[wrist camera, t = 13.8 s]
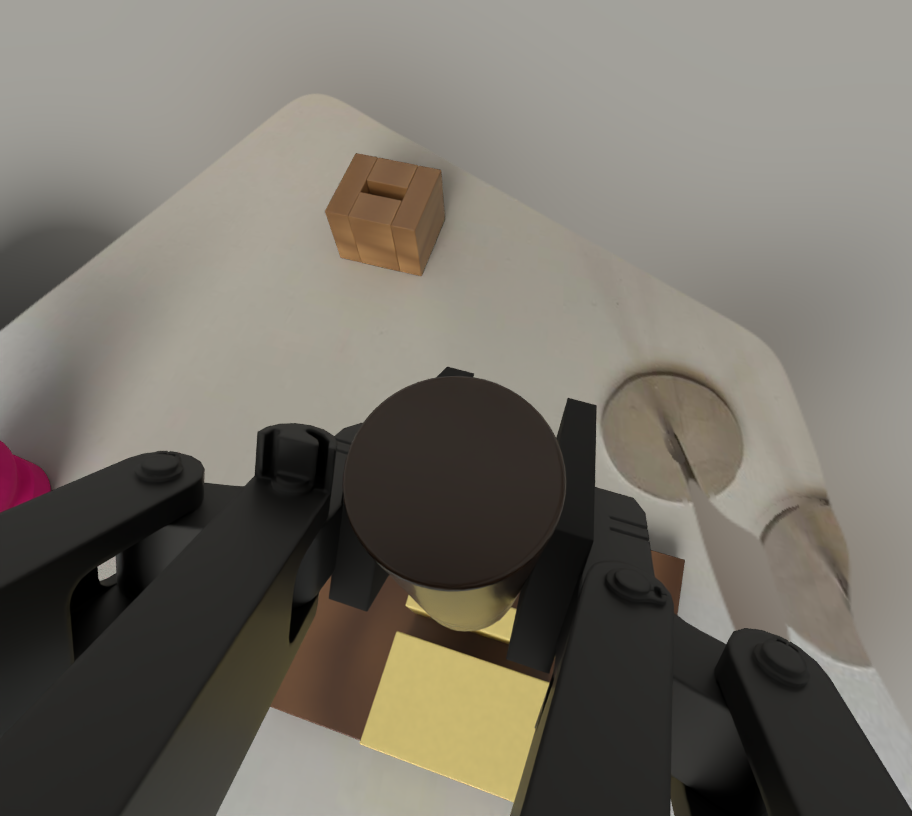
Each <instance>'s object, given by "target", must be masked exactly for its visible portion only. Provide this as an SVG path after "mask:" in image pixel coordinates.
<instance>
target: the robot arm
mask: <svg viewBox="0 0 912 816" xmlns="http://www.w3.org/2000/svg"><path fill="white" fill-rule="evenodd" d="M444 376H465V377H473V376H474V373H470V372H466V371H462V370H458V369H454V368H450V367H446V368H445V369H444V370H443V371H442V372H441V373H440V374H439V375H438V376H437V377H436V378H438V377H444ZM596 407H597V405H593V404H589V403H585V402H582V401H578V400H574V399H570V398H568V399H567V403H566V406H565V410H564V413H563V417H562V420H561V424H560V427H559V431H558V434H557V438H556V439H557V441H558V444H559V446H560V449H561V452H562V456H563V460H564V464H565V472H566V495H565V501H564V507H563V510H562V513H561V516H560V520H559V522H558V524H557V526H556V529H555V531H554V533H553V535H552V537H551V538H550V540H549V542H548V544H547V545H546V547H545V549H544V551H543V552H542V554H541V556H540V558H539V559H538V561H537V563H536V565H535V566H534V568H533V570H532V572H531V573H530V575H529V577H528V578H527V580H526V582H525V584H524V585H523V587H522V589H521V591H520V595H519V600H518V605H517V609H516V614H515V619H514V623H513V628H512V633H511V637H510V642H509V647H508V652H507V656H506V659H507V660H510V661H513V662H516V663H519V664H522V665H525V666H528V667H531V668H533V669H536V670H539V671H542V672H545V673H548V674H549V673H550V670H551V667H552V664H553V661H554V658H555V664H554V671H553V674H552V677H551V680H550V683H549V686H548V689H547V692H546V695H545V698H544V701H543V704H542V707H541V709H540V712H539V715H538V718H537V721H536V724H535V727H534V728H535V732H534V736H533V739H532V743H531V746H530V749H529V753H528V756H527V760H526V763H525V767H524V770H523V773H522V777H521V780H520V784H519V787H518V790H517V794H516V797H515V801H514V804H513V808H512V811H511V814H510V816H670V801H671V802H672V806H673V811H674V815H675V816H912V810H911V809H910V807H909V805H908V804H907V802H906V800H905V799H904V797H903V796H902V794H901V792H900V791H899V789H898V788H897V786H896V784H895V783H894V781H893V779H892V778H891V776H890V775H889V773H888V771H887V770H886V768H885V766H884V765H883V763H882V762H881V760H880V758H879V757H878V755H877V754H876V752H875V750H874V749H873V747H872V745H871V744H870V742H869V741H868V739H867V737H866V736H865V734H864V733H863V731H862V729H861V728H860V726H859V724H858V723H857V721H856V720H855V718H854V716H853V715H852V713H851V711H850V710H849V708H848V707H847V705H846V703H845V702H844V700H843V699H842V697H841V695H840V694H839V692H838V690H837V689H836V687H835V686H834V684H833V682H832V681H831V679H830V678H829V676H828V675H827V674H826V673H825V671H824V670H823V669H822V668H821V666H820V665H819V664H818V663H817V662H816V661H815V660H814V659H813V658H811V657H810V656H809V655H808V654H806V653H805V652H804V651H803V650H802V649H801V648H799V647H798V646H796V645H795V644H793V643H792V642H788V640H786V639H784V638H782V637H780V636H777V635H774V634H771V633H768V632H766V631H763V630H757V629H748V628H744V629H741V630H738V631H734V632H733V633H732V635H731V637H730V638H729V640H728V642H727V644H725V643H723V642H721V641H719V640H717V639H715V638H713V637H711V636H710V635H708V634H706V633H704V632H702V631H700V630H698V629H697V628H695V627H693V626H692V625H690V624H688V623H687V622H685V621H684V620H683V619H681V618H680V617H679V616H678V615H676V614H675V613H674V603H673V599H672V596H671V593H670V592H669V591H668V590H667V588H666V587H665V586H664V584H663V583H662V582H661V581H659V580H658V579H657V578H655V574H654V567H653V561H652V554H651V548H650V542H649V534H648V530H647V521H646V514H645V512H644V511H643V509H642V508H641V507H640V506H639V504H638V503H637V502H636V500H635V499H634V498H632V497H628V496H625V495H621V494H618V493H614V492H611V491H607V490H604V489H600V488H597V487H595V455H596ZM362 424H363V423H360V424H356V425H353V426H350V427H347V428H344V429H342V430H341V431H340V432H339V433H338V434H336V435H335V436H333V435H332V434H330V433H329V432H327V431H325V430H324V429H321V428H317V427H314V426H311V425H304V424H297V423H290V424H277V425H273V426H268V427H266V428H264V429H262V430H260V431H258V433H257V449H256V465H255V476H254V477H253V478H252V479H251V480H250V481H249V482H248V483H247V484H246V485H245V486H230V485H220V484H211V483H204V471H205V469H204V467H203V465H202V463H201V462H200V461H199V460H197V459H195V458H194V457H192V456H189V455H185V454H181V453H178V452H172V451H170V452H168V451H157V452H153V453H144V454H141V455H137V456H134V457H131V458H128V459H125V460H123V461H121V462H118V463H116V464H113V465H111V466H109V467H106V468H104V469H102V470H99V471H97V472H95V473H92V474H90V475H88V476H85V477H83V478H81V479H78V480H76V481H73V482H71V483H69V484H66V485H64V486H62V487H59V488H57V489H55V490H52V491H50V492H48V493H45V494H43V495H41V496H38V497H36V498H33V499H31V500H29V501H26V502H24V503H22V504H19V505H17V506H15V507H12V508H10V509H8V510H5V511H3V512H0V816H216V814H217V812H218V810H219V808H220V806H221V804H222V802H223V800H224V798H225V796H226V794H227V792H228V790H229V788H230V786H231V784H232V782H233V780H234V778H235V776H236V774H237V772H238V770H239V768H240V766H241V764H242V762H243V760H244V758H245V756H246V754H247V752H248V750H249V748H250V746H251V744H252V742H253V740H254V738H255V736H256V734H257V732H258V730H259V728H260V726H261V723H262V721H263V719H264V717H265V715H266V713H267V711H268V709H269V707H270V705H271V703H272V701H273V699H274V697H275V695H276V693H277V691H278V689H279V687H280V685H281V683H282V681H283V679H284V677H285V675H286V673H287V671H288V669H289V667H290V665H291V663H292V661H293V659H294V657H295V655H296V653H297V651H298V649H299V647H300V645H301V643H302V641H303V639H304V637H305V635H306V633H307V631H308V629H309V627H310V625H311V623H312V621H313V619H314V617H315V615H316V611H317V606H318V598H319V591H320V590H321V589H322V587H323V586H324V584H325V583H326V582H327V580H328V579H329V578H330V576H331V575H332V576H331V583H330V591H329V599H331V600H334V601H337V602H340V603H343V604H346V605H348V606H351V607H354V608H357V609H360V610H363V611H366V612H368V610H369V608H370V606H371V605H372V603H373V601H374V600H375V598H376V596H377V595H378V593H379V591H380V589H381V588H382V586H383V584H384V583H385V581H386V579H387V578H388V576H389V574H388V573H387V572H386V571H385V570H384V569H383V568H382V567H381V566H380V565H379V564H378V563H377V562H376V561H375V560H374V559H373V558H372V557H371V556H370V555H369V554H368V553H367V552H366V551H365V549H364V548H363V546H362V545H361V544H360V542H359V541H358V539H357V537H356V535H355V533H354V532H353V530H352V528H351V525H350V522H349V520H348V517H347V514H346V510H345V505H344V500H343V486H342V485H343V471H344V466H345V461H346V457H347V454H348V451H349V448H350V445H351V443H352V441H353V439H354V437H355V435H356V433H357V432H358V430H359V429H360V427H361V426H362ZM114 556H116V574H114V575H112V576H111V577H109V578H107V579H104V580H102V581H99V579H98V568H97V566H99V565H101V564H102V563H104V562H106V561H107V560H109V559H111V558H113V557H114Z"/></svg>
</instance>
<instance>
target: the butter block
mask: <svg viewBox="0 0 912 816" xmlns="http://www.w3.org/2000/svg"><path fill="white" fill-rule="evenodd" d="M548 686H549V682H546V681H543V680H540V679H537V678H534V677H531V676H528V675H525V674H523V673H520V672H517V671H514V670H511V669H508V668H505V667H502V666H499V665H496V664H493V663H490V662H487V661H484V660H481V659H478V658H475V657H473V656H470V655H467V654H464V653H461V652H458V651H455V650H452V649H449V648H446V647H443V646H440V645H437V644H434V643H431V642H428V641H425V640H422V639H420V638H417V637H414V636H411V635H408V634H405V633H402V632H399V631H397V632H396V634H395V637H394V641H393V644H392V647H391V650H390V653H389V656H388V659H387V662H386V665H385V668H384V671H383V674H382V677H381V680H380V683H379V686H378V689H377V692H376V695H375V698H374V701H373V704H372V707H371V710H370V713H369V716H368V719H367V722H366V725H365V728H364V731H363V734H362V737H361V741H360V744H361V745H363V746H366V747H369V748H371V749H374V750H377V751H379V752H382V753H385V754H387V755H390V756H392V757H395V758H398V759H400V760H403V761H406V762H408V763H411V764H414V765H416V766H419V767H422V768H424V769H427V770H429V771H432V772H435V773H437V774H440V775H443V776H445V777H448V778H451V779H453V780H456V781H458V782H461V783H464V784H466V785H469V786H472V787H474V788H477V789H480V790H482V791H485V792H488V793H490V794H493V795H495V796H498V797H501V798H503V799H506V800H509V801H511V802H514V801H515V797H516V794H517V790H518V787H519V784H520V780H521V777H522V773H523V770H524V767H525V763H526V760H527V756H528V753H529V749H530V746H531V743H532V739H533V736H534V732H535V728H534V727H535V724H536V721H537V718H538V715H539V712H540V709H541V707H542V704H543V701H544V698H545V695H546V692H547V689H548Z"/></svg>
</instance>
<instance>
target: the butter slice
mask: <svg viewBox="0 0 912 816" xmlns="http://www.w3.org/2000/svg"><path fill="white" fill-rule="evenodd" d="M406 606H407V607H408V608H409V609H410V610H412V611H413V612H414V613H416V614H419V615H422V616H425V617H428V618H431V617H430V616H429V615H428V614H427V613H426V612H425V611H424V610H423V609H422V608H421V607H420V606H419V605H418V604H417V603H416V602H415V601H414V600H413V599H412V598H411V597H410V595H408V598H407V601H406ZM515 614H516V609H515V608H512V607H511V608H510V609H509V611H508V612H507V613H506V614H505V615H504V616H503V617H502V618H501V620H500V621H497V622H496V623H494V624H493V625H491V626H489V627H487V628H484V629H481V630H477V631H470V632H473V633H476V634H479V635H482V636H485V637H488V638H491V639H494V640H497V641H500V642H503V643H506V644H509V642H510V637H511V633H512V628H513V623H514V619H515ZM431 619H433V618H431Z"/></svg>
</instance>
